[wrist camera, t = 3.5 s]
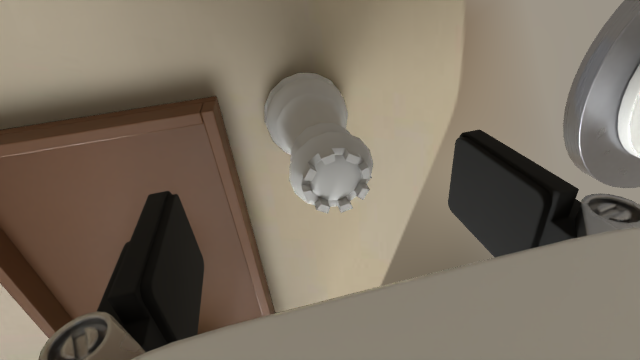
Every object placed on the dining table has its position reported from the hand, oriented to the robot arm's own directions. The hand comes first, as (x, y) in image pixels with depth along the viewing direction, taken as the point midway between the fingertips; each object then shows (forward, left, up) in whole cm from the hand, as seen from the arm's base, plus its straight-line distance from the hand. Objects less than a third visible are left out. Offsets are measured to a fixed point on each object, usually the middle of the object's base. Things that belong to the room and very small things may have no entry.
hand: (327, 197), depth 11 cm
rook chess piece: (-1, 0, -9) cm, 9 cm away
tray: (+10, +11, -9) cm, 17 cm away
